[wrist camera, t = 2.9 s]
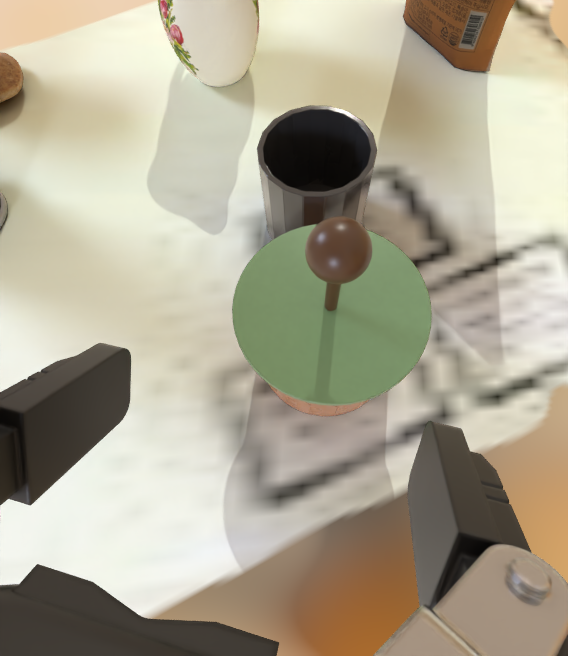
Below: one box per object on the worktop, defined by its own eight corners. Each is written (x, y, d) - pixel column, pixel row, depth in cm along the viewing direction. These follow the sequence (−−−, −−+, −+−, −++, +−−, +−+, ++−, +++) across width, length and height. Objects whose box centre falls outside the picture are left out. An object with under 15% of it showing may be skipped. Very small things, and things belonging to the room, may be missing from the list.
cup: (256, 197, 45) (244, 121, 36) (343, 175, 46) (353, 94, 36) (281, 273, 42) (274, 209, 32) (375, 247, 42) (395, 178, 33)
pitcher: (228, 11, 57) (206, -128, 45) (288, 91, 51) (282, -43, 38) (154, 38, 56) (110, -97, 43) (206, 125, 49) (172, -4, 37)
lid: (216, 258, 32) (181, 162, 23) (385, 213, 33) (417, 103, 24) (261, 433, 27) (239, 401, 18) (459, 374, 28) (537, 315, 19)
